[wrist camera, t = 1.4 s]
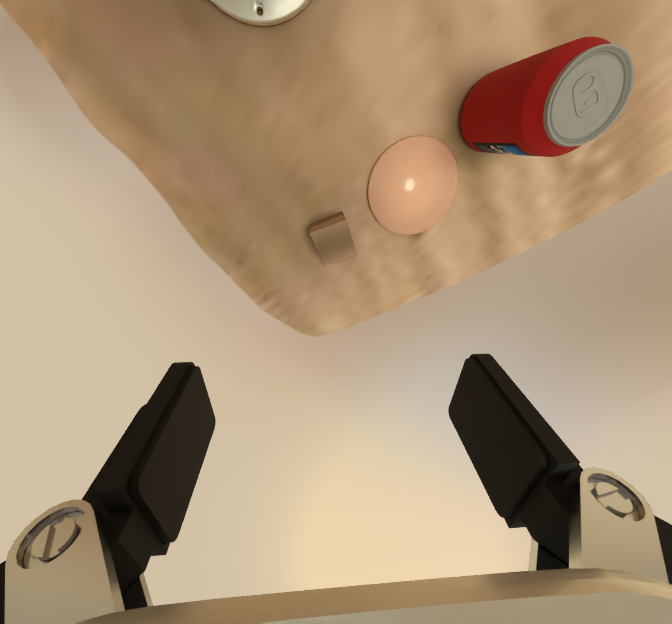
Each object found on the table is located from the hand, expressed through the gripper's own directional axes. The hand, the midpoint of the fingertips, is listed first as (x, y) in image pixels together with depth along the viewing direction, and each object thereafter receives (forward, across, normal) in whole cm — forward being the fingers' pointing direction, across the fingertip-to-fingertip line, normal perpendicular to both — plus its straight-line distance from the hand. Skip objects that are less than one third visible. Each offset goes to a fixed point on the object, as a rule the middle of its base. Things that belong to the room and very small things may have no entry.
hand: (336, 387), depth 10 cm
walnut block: (+26, -2, +2) cm, 27 cm away
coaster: (+26, -10, -3) cm, 28 cm away
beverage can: (+26, -17, -10) cm, 33 cm away
